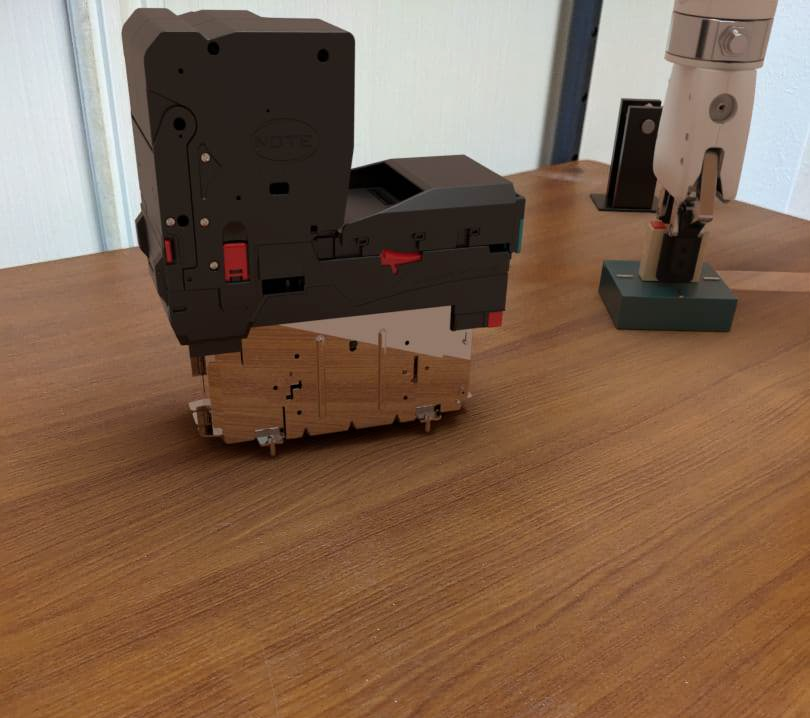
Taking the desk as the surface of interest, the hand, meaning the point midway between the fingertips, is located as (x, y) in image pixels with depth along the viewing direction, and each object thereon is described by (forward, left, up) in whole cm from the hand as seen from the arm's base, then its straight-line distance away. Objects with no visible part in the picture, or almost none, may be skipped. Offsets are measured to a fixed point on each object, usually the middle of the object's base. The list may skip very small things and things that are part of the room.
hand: (669, 272), depth 82 cm
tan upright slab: (0, 0, -1) cm, 1 cm away
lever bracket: (-3, -30, -4) cm, 30 cm away
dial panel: (0, 0, -4) cm, 4 cm away
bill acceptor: (+29, +21, -4) cm, 36 cm away
